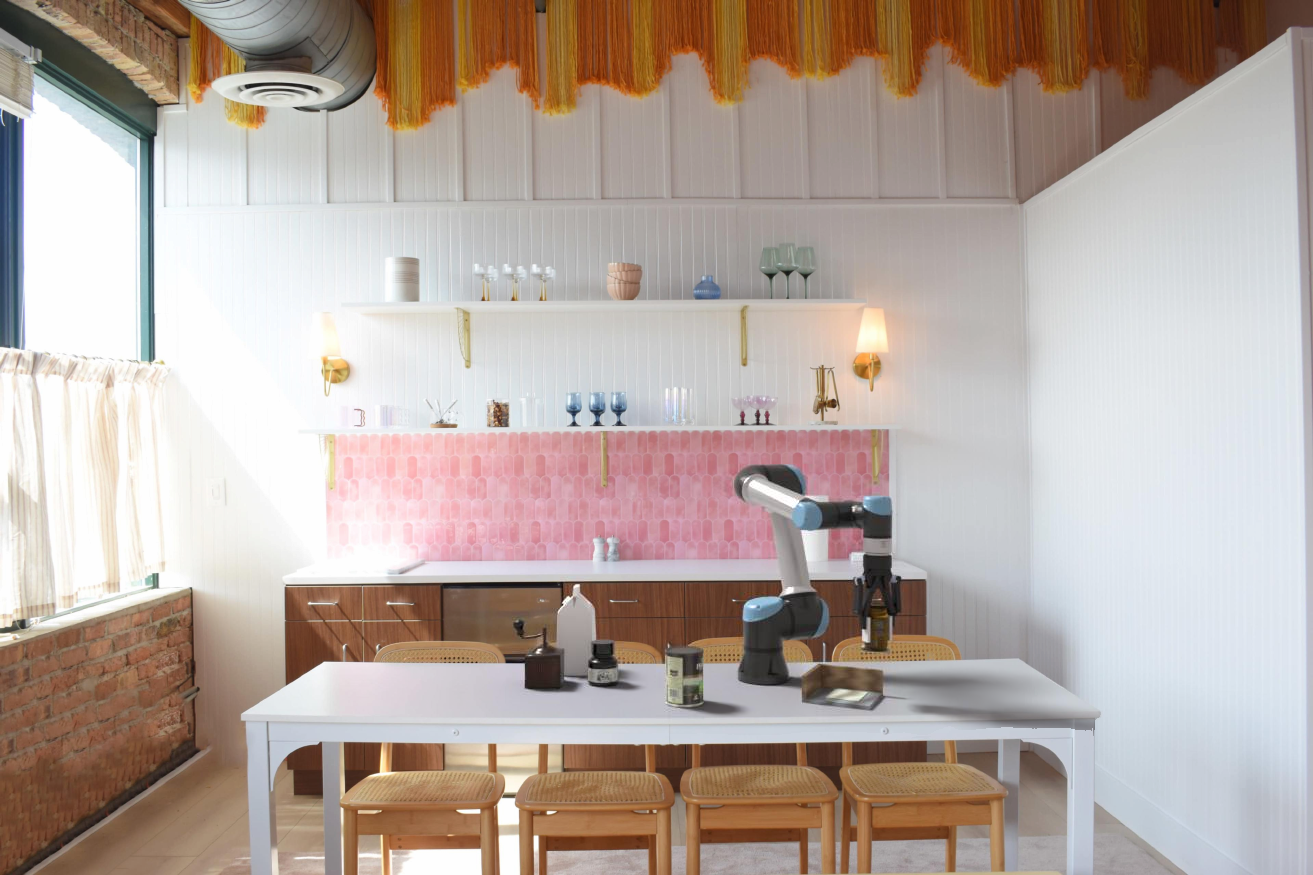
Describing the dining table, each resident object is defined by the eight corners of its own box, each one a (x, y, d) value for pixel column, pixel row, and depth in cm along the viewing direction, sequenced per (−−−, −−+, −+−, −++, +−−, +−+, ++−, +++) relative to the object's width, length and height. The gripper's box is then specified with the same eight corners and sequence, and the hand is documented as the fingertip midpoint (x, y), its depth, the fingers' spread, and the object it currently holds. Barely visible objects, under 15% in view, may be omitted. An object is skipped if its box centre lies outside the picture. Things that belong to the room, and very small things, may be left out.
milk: (593, 675, 276) (593, 588, 276) (555, 675, 276) (555, 588, 277) (597, 666, 288) (597, 583, 288) (560, 666, 288) (560, 583, 288)
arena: (801, 702, 245) (801, 675, 245) (819, 688, 259) (818, 663, 259) (869, 710, 237) (869, 682, 237) (883, 695, 251) (882, 669, 251)
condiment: (889, 647, 248) (889, 602, 248) (889, 654, 239) (889, 608, 240) (861, 645, 249) (861, 601, 249) (860, 652, 241) (861, 606, 241)
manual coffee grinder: (565, 679, 271) (565, 618, 271) (560, 689, 260) (560, 625, 260) (513, 679, 272) (513, 618, 272) (505, 688, 261) (505, 624, 261)
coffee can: (705, 698, 249) (705, 646, 249) (701, 708, 239) (700, 654, 239) (668, 696, 251) (668, 644, 251) (662, 707, 241) (661, 652, 241)
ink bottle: (585, 687, 262) (584, 644, 262) (587, 679, 271) (587, 638, 271) (619, 687, 262) (619, 644, 262) (620, 679, 271) (620, 638, 271)
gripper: (853, 556, 238) (853, 646, 238) (916, 553, 245) (916, 641, 244) (838, 553, 245) (838, 640, 245) (899, 550, 252) (899, 635, 251)
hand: (877, 640), depth 245 cm, fingers closed on condiment, 6 cm apart
